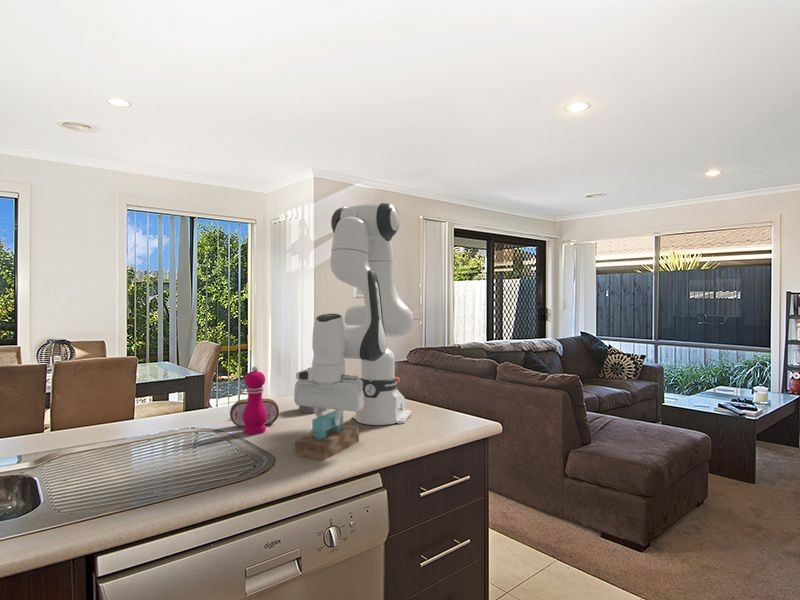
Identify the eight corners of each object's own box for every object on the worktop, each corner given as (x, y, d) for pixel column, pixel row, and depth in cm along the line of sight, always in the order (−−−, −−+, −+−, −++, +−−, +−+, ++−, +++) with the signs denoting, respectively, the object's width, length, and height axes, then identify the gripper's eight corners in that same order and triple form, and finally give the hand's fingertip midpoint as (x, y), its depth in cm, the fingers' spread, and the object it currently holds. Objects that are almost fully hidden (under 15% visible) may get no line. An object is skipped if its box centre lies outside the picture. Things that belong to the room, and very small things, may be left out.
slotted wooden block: (331, 437, 146) (331, 423, 146) (358, 441, 143) (358, 427, 143) (295, 455, 130) (295, 439, 130) (324, 459, 126) (324, 444, 126)
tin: (278, 422, 164) (278, 397, 164) (279, 425, 161) (279, 398, 161) (229, 426, 159) (229, 399, 159) (229, 428, 156) (229, 401, 156)
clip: (333, 439, 142) (334, 411, 142) (343, 440, 141) (343, 412, 141) (312, 450, 132) (312, 419, 132) (322, 451, 131) (322, 420, 130)
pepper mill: (260, 435, 148) (260, 368, 148) (237, 434, 150) (238, 367, 149) (271, 429, 155) (271, 365, 155) (249, 428, 157) (250, 364, 156)
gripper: (368, 374, 135) (367, 425, 135) (304, 369, 143) (304, 418, 143) (356, 378, 129) (356, 431, 129) (290, 373, 137) (290, 423, 137)
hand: (328, 424), depth 136 cm, fingers closed on clip, 3 cm apart
